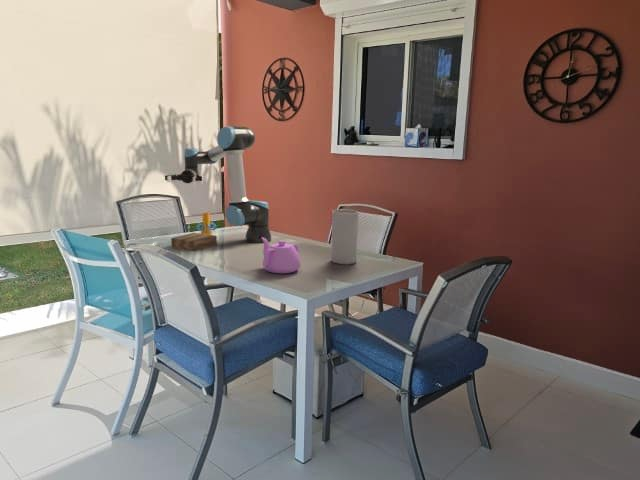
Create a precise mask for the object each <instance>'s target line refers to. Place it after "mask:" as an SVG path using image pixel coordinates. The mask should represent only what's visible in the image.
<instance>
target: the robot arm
mask: <svg viewBox="0 0 640 480" xmlns="http://www.w3.org/2000/svg"><path fill="white" fill-rule="evenodd" d="M216 141H217V144H218V145H217V146H215V147H212V148H210V149H209V150H207V151H199V150H198V149H197V148H191V147H190V148H185V149H184V154H183V156H184V170H183V171H182V172H181V173H180V174H168V175H164V181H166V182H167V183H169V182H171V181H179V182H180V181H182V182H183V183H184V184H191V183H196V182H199V181H200V182H203V175H202V176H201V175H200V172H199V165H214V164H217V162H218V161H219V160H221V159H223V158H225V157H226V165H227V173H228V182H229V183H228V184H229V185H228V186H229V193H230V200H229V202H228V206H227V207H226V209H225V210H224V211H225V214H224V215H225V218H226V221H227V223H229V224H230V225H231V226H233V227H243V226H246V225H248V226H247V231H246V234H245V239H244V240H245V242H247V243H254V244H259V243H260V244H261V243H263V244H264V242H263V239H262V237H264V238H265V239H267V241H268V243H269V242H271V241H272V234H271V232H270V228H269V219H270V218H269V214H270V213H269V211H270V210H269V209H270V207H269V203H268V201H262V200H253V199H252V200H250V199H248V197H247V189H246V180H245V178H246V177H245V168H244V162H243V161H244V160H243V154H244V152H245V151H246V150H247V149H249V148H251V147H252V146H253V145H254V144H255V141H256V135H255V133H254V131H253V130H252V129H251V128H249V127H246V126H235V125H234V126H233V125H232V126H231V125H227V126H223V127H222V128H220V130H219V131H218V133H217V137H216Z"/></svg>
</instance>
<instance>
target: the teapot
mask: <svg viewBox="0 0 640 480" xmlns="http://www.w3.org/2000/svg"><path fill="white" fill-rule="evenodd" d="M262 239H263V242H264V243H263V249H262V250H263V251H262V253H263V261H262V265H263V269H264V270H266V271H267V272H270V273H273V274H280V275H284V274H290V273H295V272H296V271H297V270H298V269H299V268H300V267H301V265H302V264H301V262H302V260H301V258H300V255H299V253H298V252H299V247H298V245H297V244H296V243H288V242H287V241H286V240H284V239H281V240H278V241H277V242H276V243H272V244H271V245H270V246H269V242H268V241H267V239H265V238H264V237H262Z"/></svg>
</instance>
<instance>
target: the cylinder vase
mask: <svg viewBox="0 0 640 480" xmlns="http://www.w3.org/2000/svg"><path fill="white" fill-rule="evenodd" d="M331 214H332V218H331V221H332V222H331V246H330V247H331V248H330V249H331V251H330V256H331V257H330V259H331V262H332V263H334V264H337V265H353V264H355V263H357V261H358V260H357V259H358V257H357V255H358V253H357V252H358V235H359V234H358V230H359V229H358V227H359V211H358V210H356V209H355V210H354V209H334V210H332V212H331Z"/></svg>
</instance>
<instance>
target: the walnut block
mask: <svg viewBox="0 0 640 480" xmlns="http://www.w3.org/2000/svg"><path fill="white" fill-rule="evenodd" d="M170 239H171V248H174V249H181V250H186V251H187V250H188V251H194V252H195V251H199V250H202V249H203V250H204V249H207V248H209V247H213V246H217V243H218V242H217V241H218V239H217V235H213V234H212V235H207V234H201V233H197V232H191V233H187V234H183V235H179V236H175V237H171V238H170Z"/></svg>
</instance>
